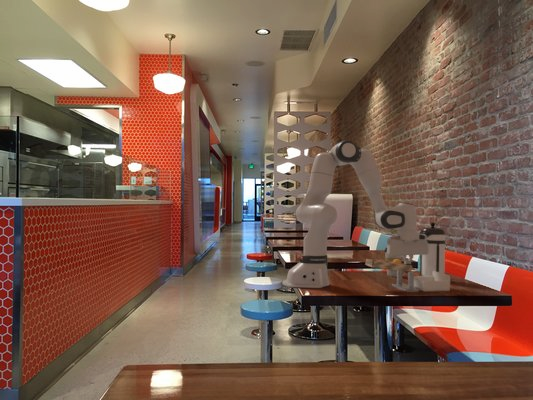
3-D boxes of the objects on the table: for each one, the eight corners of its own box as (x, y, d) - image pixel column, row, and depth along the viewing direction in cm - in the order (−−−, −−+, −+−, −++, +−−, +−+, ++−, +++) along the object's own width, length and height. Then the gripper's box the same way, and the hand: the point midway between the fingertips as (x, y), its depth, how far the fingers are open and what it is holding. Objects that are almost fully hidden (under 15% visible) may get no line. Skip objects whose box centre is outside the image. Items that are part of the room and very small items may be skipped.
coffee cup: (400, 274, 233) (400, 247, 233) (404, 277, 223) (404, 249, 223) (382, 273, 234) (382, 247, 234) (385, 276, 224) (386, 249, 224)
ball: (399, 269, 191) (393, 264, 191) (395, 268, 195) (389, 262, 195) (404, 263, 191) (398, 257, 191) (400, 262, 195) (395, 256, 195)
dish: (423, 291, 188) (424, 275, 188) (409, 285, 201) (409, 271, 201) (449, 291, 189) (450, 275, 189) (433, 285, 203) (434, 270, 203)
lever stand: (406, 292, 186) (406, 272, 186) (391, 285, 201) (392, 267, 201) (419, 291, 186) (419, 272, 187) (403, 285, 201) (403, 267, 201)
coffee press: (454, 282, 210) (455, 223, 210) (422, 282, 210) (423, 222, 211) (440, 276, 227) (441, 221, 228) (411, 276, 228) (412, 221, 228)
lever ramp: (371, 269, 187) (372, 261, 187) (358, 264, 204) (359, 256, 204) (423, 275, 191) (424, 267, 191) (406, 269, 207) (407, 262, 207)
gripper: (390, 236, 199) (390, 265, 199) (430, 236, 202) (430, 264, 202) (384, 235, 205) (384, 263, 205) (423, 235, 208) (423, 262, 208)
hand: (407, 264), depth 203 cm, fingers closed
